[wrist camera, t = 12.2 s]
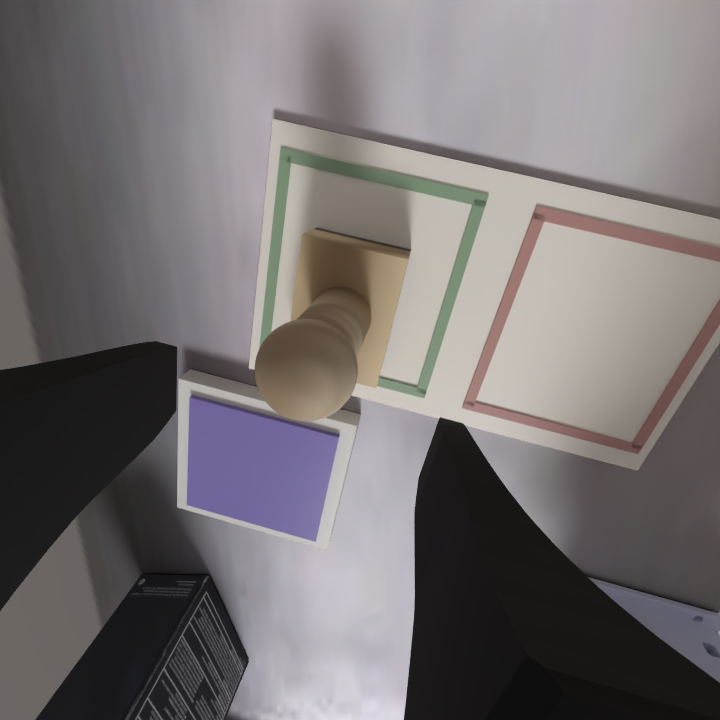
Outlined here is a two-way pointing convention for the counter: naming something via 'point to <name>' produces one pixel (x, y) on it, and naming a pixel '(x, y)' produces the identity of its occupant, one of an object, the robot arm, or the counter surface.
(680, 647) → the robot arm
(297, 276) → the stamp
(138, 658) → the small box
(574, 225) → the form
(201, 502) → the ink pad
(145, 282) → the counter surface
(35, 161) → the counter surface
